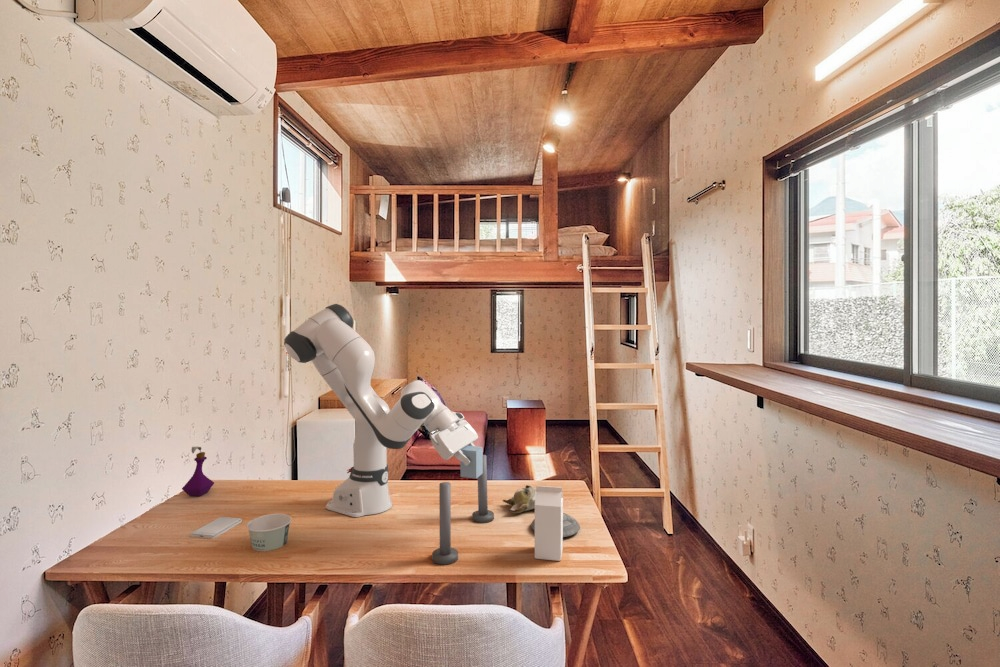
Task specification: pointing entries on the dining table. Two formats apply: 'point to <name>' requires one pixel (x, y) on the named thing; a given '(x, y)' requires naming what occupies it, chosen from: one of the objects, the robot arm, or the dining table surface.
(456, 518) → the dining table surface
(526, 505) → the ceramic sculpture
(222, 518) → the hard drive
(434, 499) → the dining table surface
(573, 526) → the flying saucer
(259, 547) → the food container
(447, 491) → the near post
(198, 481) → the perfume bottle
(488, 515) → the far post
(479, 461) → the slate block
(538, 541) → the milk carton
